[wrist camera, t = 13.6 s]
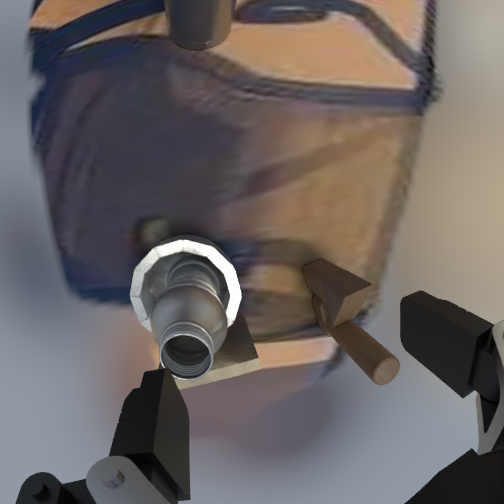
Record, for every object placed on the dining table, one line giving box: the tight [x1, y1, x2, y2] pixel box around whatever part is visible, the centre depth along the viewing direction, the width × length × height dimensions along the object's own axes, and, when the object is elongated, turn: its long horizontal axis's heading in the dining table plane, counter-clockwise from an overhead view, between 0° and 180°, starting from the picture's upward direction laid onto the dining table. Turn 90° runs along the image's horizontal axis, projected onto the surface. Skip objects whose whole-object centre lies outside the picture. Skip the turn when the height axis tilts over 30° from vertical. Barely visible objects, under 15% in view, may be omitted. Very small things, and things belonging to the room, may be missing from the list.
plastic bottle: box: [150, 256, 228, 381], centre depth 28 cm, size 6×7×20 cm
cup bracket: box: [130, 234, 262, 389], centre depth 35 cm, size 16×12×12 cm
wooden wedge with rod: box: [303, 259, 400, 385], centre depth 35 cm, size 4×11×18 cm, turn 19°
